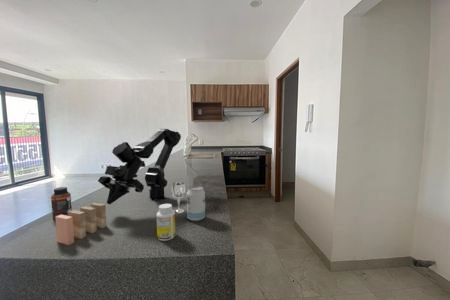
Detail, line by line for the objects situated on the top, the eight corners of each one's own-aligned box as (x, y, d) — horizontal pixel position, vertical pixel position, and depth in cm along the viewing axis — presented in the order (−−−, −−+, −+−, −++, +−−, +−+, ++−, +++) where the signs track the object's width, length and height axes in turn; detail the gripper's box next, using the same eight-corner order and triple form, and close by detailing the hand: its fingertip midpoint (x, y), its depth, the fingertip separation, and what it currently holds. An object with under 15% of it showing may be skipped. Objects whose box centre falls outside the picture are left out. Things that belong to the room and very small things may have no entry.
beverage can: (205, 221, 72) (205, 190, 71) (186, 223, 70) (186, 191, 69) (204, 214, 78) (204, 185, 77) (187, 215, 77) (186, 186, 76)
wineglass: (188, 209, 83) (187, 182, 82) (181, 215, 78) (180, 185, 77) (176, 208, 85) (176, 181, 84) (169, 213, 79) (168, 184, 78)
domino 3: (86, 228, 67) (84, 206, 66) (96, 230, 65) (95, 208, 64) (81, 230, 65) (80, 207, 64) (92, 233, 63) (90, 209, 63)
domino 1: (63, 239, 60) (61, 214, 59) (74, 242, 58) (72, 216, 57) (57, 242, 58) (55, 216, 58) (68, 245, 57) (66, 219, 56)
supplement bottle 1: (75, 214, 78) (73, 187, 77) (57, 220, 73) (55, 191, 72) (66, 211, 81) (65, 185, 80) (49, 217, 75) (47, 189, 74)
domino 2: (75, 233, 63) (73, 210, 62) (86, 236, 62) (84, 212, 61) (70, 236, 62) (68, 212, 61) (80, 238, 60) (79, 214, 59)
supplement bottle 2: (169, 230, 65) (168, 201, 64) (178, 236, 62) (178, 205, 61) (153, 237, 61) (152, 206, 60) (163, 243, 57) (162, 210, 56)
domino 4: (96, 223, 70) (95, 202, 69) (106, 226, 68) (105, 204, 68) (92, 225, 68) (90, 204, 68) (102, 228, 67) (101, 205, 66)
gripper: (100, 156, 78) (73, 190, 69) (137, 158, 72) (112, 196, 63) (118, 172, 86) (95, 204, 77) (152, 175, 80) (132, 210, 71)
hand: (108, 203), depth 72 cm, fingers closed
